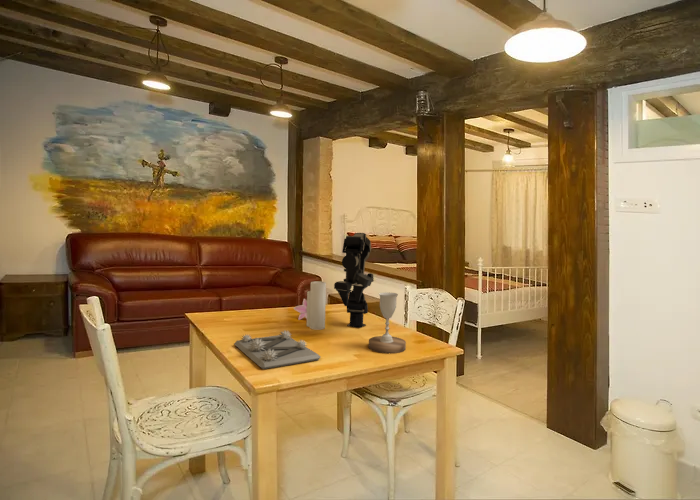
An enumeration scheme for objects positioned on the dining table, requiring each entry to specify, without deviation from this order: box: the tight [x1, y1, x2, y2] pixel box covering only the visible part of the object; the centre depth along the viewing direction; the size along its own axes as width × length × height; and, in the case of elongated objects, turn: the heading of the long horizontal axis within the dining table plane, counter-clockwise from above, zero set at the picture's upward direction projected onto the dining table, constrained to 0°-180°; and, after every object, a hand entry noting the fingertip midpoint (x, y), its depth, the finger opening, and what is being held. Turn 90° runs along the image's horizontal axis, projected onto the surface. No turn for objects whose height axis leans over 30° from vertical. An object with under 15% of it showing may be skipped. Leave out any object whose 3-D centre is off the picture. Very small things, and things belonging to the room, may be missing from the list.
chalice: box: [378, 291, 399, 343], centre depth 167 cm, size 7×7×18 cm
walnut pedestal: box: [368, 335, 407, 354], centre depth 167 cm, size 14×14×2 cm
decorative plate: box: [233, 330, 321, 370], centre depth 158 cm, size 30×22×7 cm
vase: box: [306, 280, 327, 331], centre depth 194 cm, size 11×7×20 cm, turn 20°
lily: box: [293, 298, 307, 321], centre depth 208 cm, size 12×12×10 cm
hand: (351, 304), depth 182 cm, fingers open, 9 cm apart
